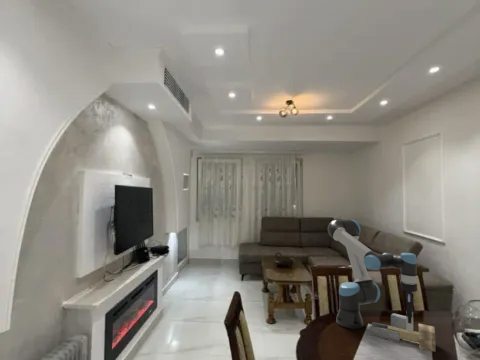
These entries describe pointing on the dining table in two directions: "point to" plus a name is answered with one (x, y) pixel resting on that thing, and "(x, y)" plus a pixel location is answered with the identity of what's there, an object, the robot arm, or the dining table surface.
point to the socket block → (427, 337)
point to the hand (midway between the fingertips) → (409, 327)
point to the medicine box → (398, 321)
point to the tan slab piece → (406, 333)
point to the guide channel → (383, 332)
